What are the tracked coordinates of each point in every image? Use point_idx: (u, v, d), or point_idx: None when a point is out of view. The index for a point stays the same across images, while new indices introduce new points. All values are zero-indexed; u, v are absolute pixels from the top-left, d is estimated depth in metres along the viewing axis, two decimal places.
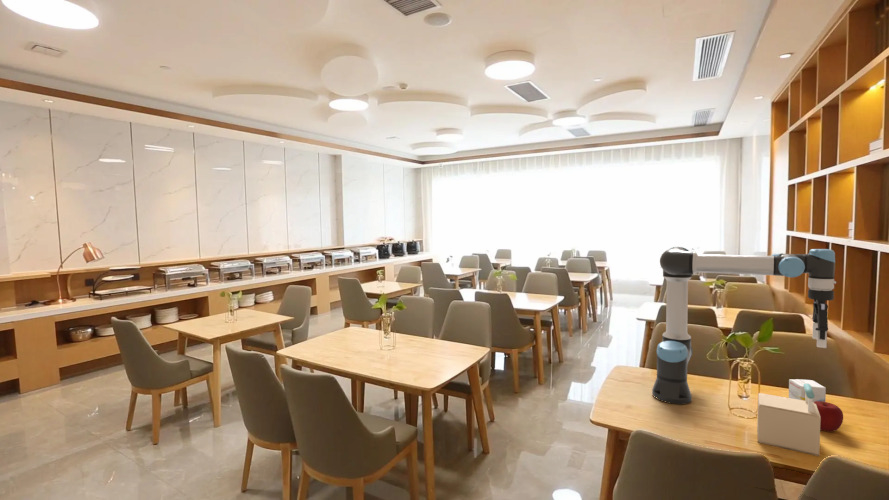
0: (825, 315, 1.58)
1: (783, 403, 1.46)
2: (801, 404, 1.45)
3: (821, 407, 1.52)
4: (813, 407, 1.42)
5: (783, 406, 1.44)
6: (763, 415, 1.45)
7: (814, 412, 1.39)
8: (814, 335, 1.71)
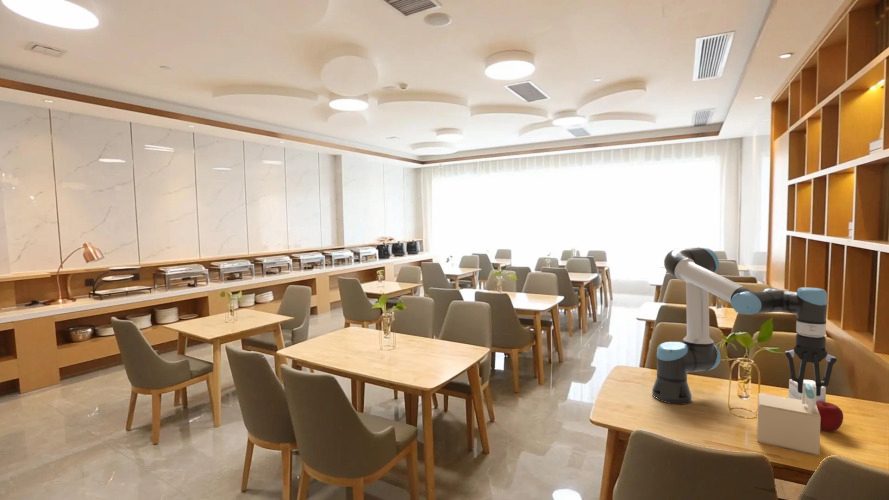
0: (789, 364, 1.45)
1: (783, 403, 1.46)
2: (801, 404, 1.45)
3: (821, 407, 1.52)
4: (813, 407, 1.42)
5: (783, 406, 1.44)
6: (763, 415, 1.45)
7: (814, 412, 1.39)
8: (812, 399, 1.43)
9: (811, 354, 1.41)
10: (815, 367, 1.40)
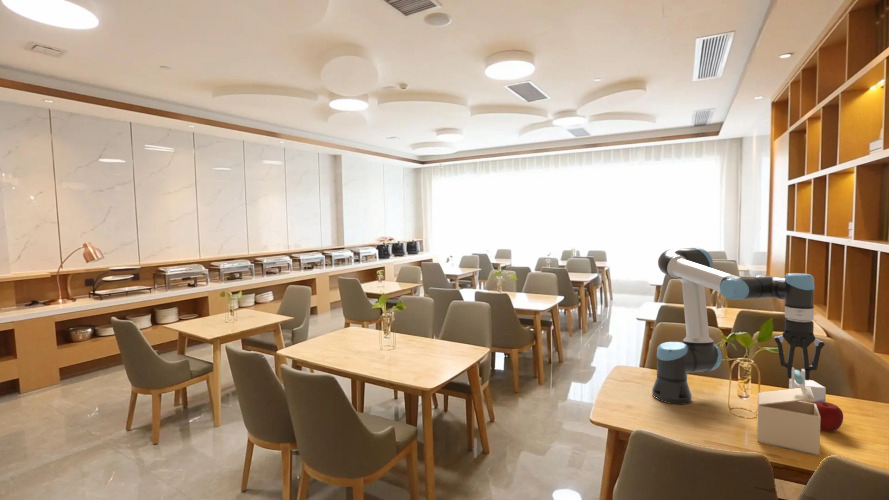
0: (778, 349, 1.46)
1: (781, 396, 1.46)
2: (798, 392, 1.45)
3: (821, 407, 1.52)
4: (809, 392, 1.43)
5: (781, 399, 1.44)
6: (763, 415, 1.45)
7: (810, 396, 1.39)
8: None
9: (799, 339, 1.42)
10: (804, 352, 1.42)
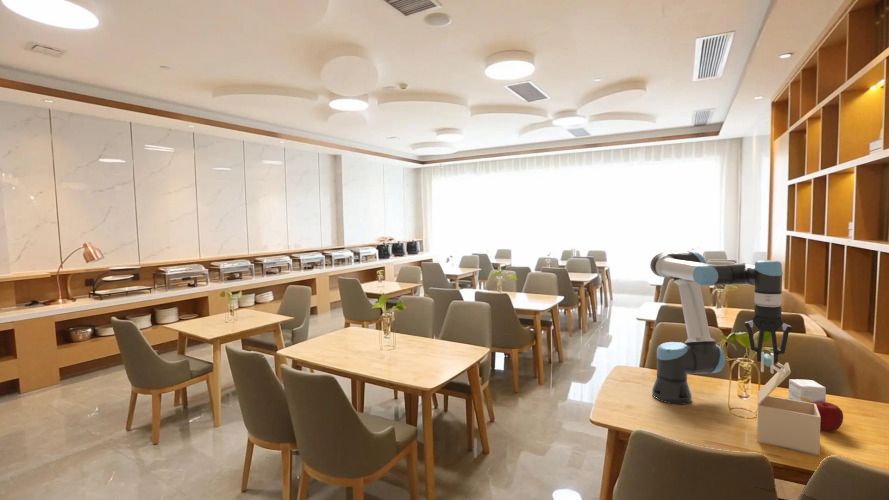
0: None
1: (770, 385, 1.48)
2: None
3: (821, 407, 1.52)
4: (786, 367, 1.46)
5: (771, 388, 1.45)
6: (763, 415, 1.45)
7: (787, 372, 1.42)
8: None
9: (768, 323, 1.47)
10: (772, 336, 1.46)
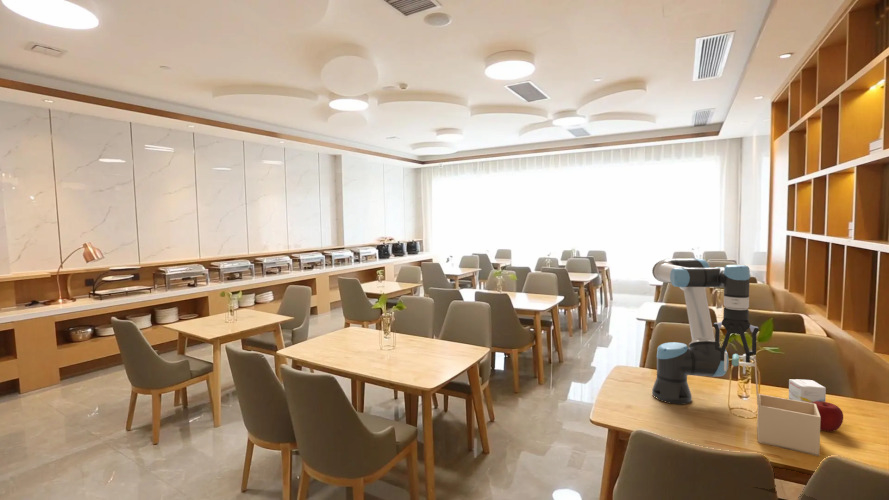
0: (715, 334, 1.57)
1: None
2: None
3: (821, 407, 1.52)
4: (754, 357, 1.51)
5: None
6: (763, 415, 1.45)
7: (754, 361, 1.47)
8: None
9: (736, 326, 1.52)
10: (742, 338, 1.51)
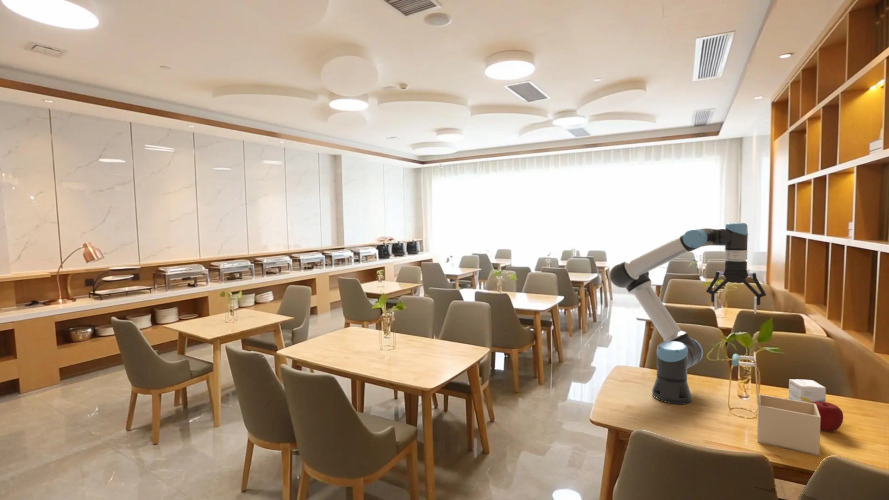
0: None
1: None
2: None
3: (821, 407, 1.52)
4: (754, 357, 1.51)
5: None
6: (763, 415, 1.45)
7: (754, 361, 1.47)
8: None
9: (736, 277, 1.74)
10: (746, 284, 1.73)
